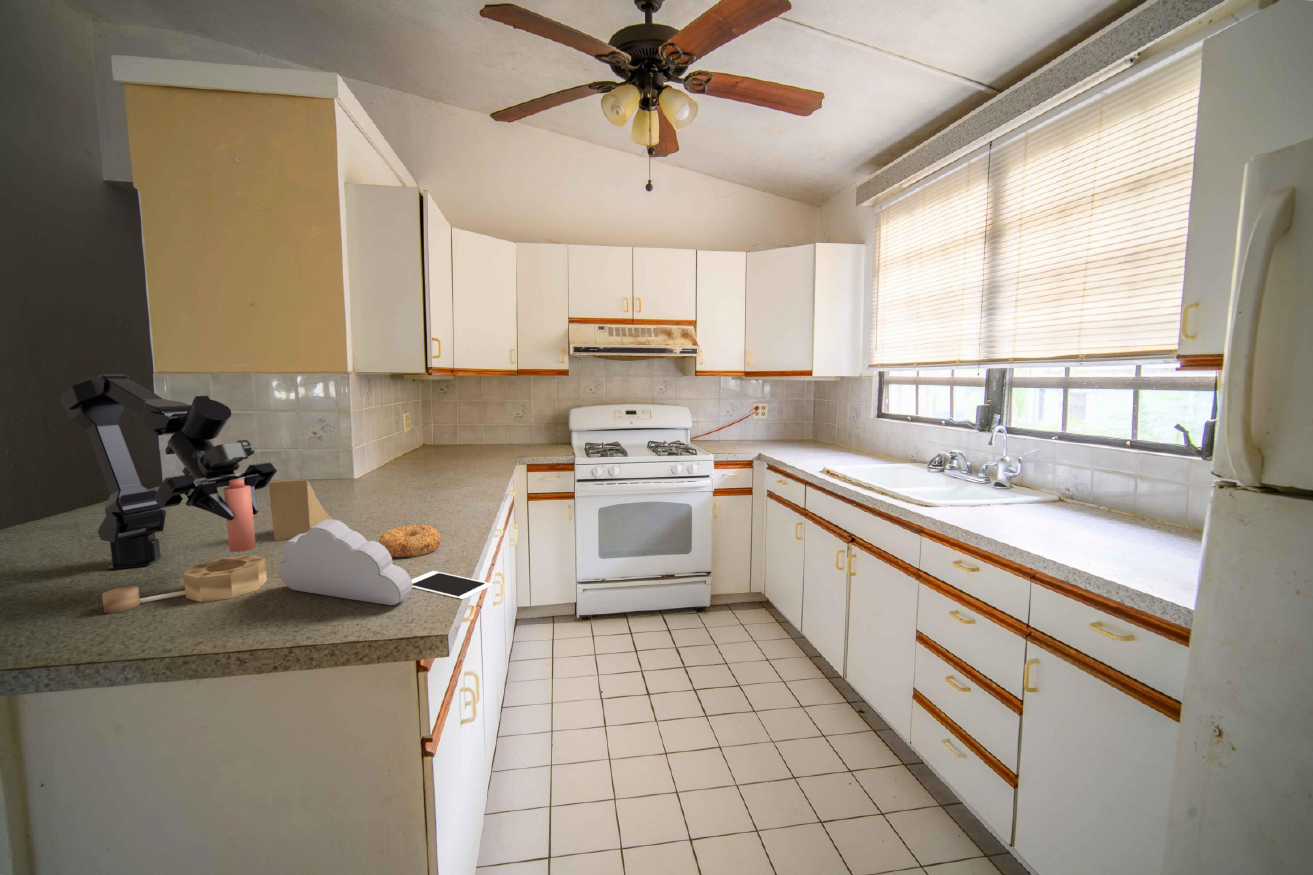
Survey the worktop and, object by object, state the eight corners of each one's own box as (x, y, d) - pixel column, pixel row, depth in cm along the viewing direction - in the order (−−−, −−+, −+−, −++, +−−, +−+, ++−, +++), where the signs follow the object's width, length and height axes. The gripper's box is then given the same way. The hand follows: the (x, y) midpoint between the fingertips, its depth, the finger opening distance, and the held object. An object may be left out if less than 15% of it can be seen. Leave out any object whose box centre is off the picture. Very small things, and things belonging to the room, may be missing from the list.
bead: (177, 605, 92) (175, 580, 92) (203, 582, 102) (201, 560, 102) (254, 595, 96) (252, 571, 96) (271, 574, 107) (269, 553, 106)
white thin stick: (117, 608, 91) (116, 603, 91) (118, 606, 92) (117, 602, 92) (208, 590, 98) (207, 586, 98) (208, 589, 99) (207, 585, 99)
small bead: (98, 614, 88) (95, 597, 88) (112, 604, 92) (110, 588, 92) (132, 610, 90) (130, 593, 90) (145, 600, 94) (143, 584, 94)
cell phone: (433, 573, 109) (433, 570, 108) (493, 586, 102) (493, 583, 102) (400, 586, 102) (400, 583, 101) (463, 602, 95) (462, 598, 95)
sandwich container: (336, 522, 145) (332, 468, 144) (312, 539, 131) (307, 479, 129) (302, 524, 144) (297, 469, 142) (273, 541, 129) (268, 480, 127)
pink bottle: (224, 552, 99) (217, 482, 98) (238, 545, 103) (232, 478, 102) (247, 551, 100) (241, 481, 98) (260, 544, 104) (254, 477, 102)
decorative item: (264, 597, 96) (256, 517, 94) (312, 578, 105) (306, 504, 103) (387, 618, 88) (382, 531, 86) (428, 595, 97) (424, 515, 95)
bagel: (400, 540, 129) (399, 520, 129) (452, 543, 128) (451, 523, 127) (365, 558, 117) (363, 536, 116) (421, 561, 115) (420, 539, 114)
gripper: (158, 432, 91) (207, 499, 89) (266, 423, 109) (310, 479, 107) (133, 474, 95) (181, 540, 92) (242, 459, 112) (284, 514, 110)
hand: (244, 515), depth 100 cm, fingers closed on pink bottle, 4 cm apart
